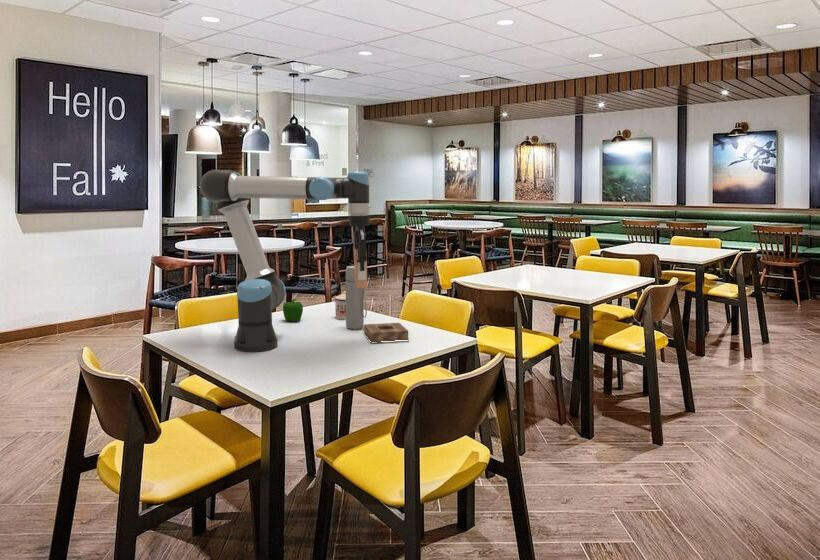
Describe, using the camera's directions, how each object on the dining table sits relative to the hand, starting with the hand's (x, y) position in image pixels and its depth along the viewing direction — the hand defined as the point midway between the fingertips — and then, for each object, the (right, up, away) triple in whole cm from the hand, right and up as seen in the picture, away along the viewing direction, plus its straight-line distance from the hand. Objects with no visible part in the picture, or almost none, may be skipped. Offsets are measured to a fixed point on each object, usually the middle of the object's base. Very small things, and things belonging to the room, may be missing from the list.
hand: (360, 278), depth 229 cm
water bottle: (-3, -20, +23) cm, 31 cm away
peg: (0, -3, 0) cm, 3 cm away
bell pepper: (-32, -18, +35) cm, 50 cm away
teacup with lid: (-9, -17, +42) cm, 46 cm away
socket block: (+9, -23, +8) cm, 25 cm away
